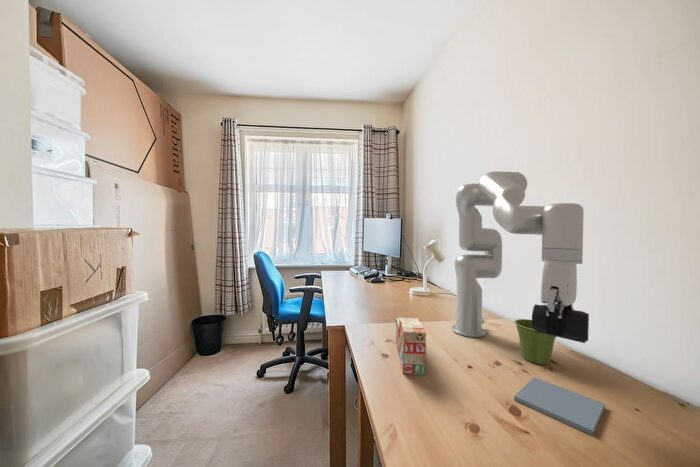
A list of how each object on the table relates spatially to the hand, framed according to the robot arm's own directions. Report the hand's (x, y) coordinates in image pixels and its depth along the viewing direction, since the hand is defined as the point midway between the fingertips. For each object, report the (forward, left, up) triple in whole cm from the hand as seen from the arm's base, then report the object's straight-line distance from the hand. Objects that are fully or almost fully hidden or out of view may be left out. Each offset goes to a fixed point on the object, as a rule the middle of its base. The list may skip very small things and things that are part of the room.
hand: (559, 330), depth 62 cm
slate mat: (0, 0, -17) cm, 17 cm away
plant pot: (-22, -11, -18) cm, 30 cm away
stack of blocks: (+10, -36, -18) cm, 42 cm away
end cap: (0, 0, -2) cm, 2 cm away
